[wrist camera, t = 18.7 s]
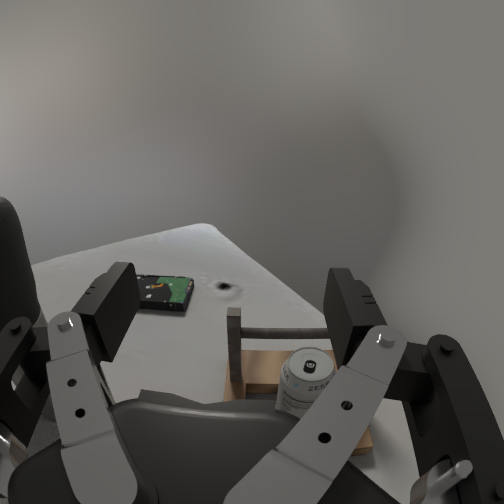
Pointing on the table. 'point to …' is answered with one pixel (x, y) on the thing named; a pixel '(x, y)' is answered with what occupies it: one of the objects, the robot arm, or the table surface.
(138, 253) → the table surface
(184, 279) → the disk drive
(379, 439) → the table surface
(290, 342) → the table surface
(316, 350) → the energy drink can
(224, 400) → the wooden crossbar stand
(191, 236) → the table surface
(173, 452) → the robot arm
